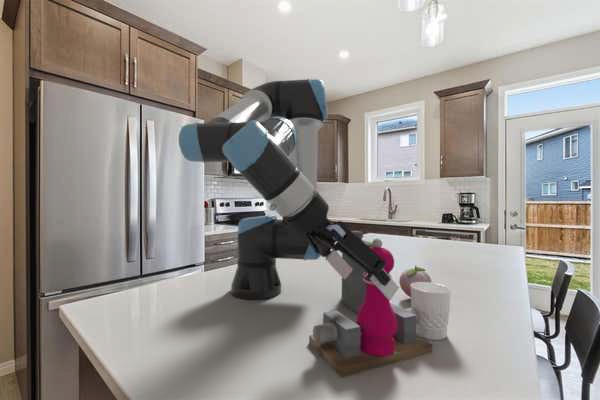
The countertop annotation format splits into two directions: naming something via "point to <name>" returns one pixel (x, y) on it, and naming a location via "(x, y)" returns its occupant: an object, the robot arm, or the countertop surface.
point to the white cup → (431, 309)
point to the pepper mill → (377, 312)
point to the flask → (354, 281)
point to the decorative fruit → (412, 278)
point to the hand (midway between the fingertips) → (368, 282)
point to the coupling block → (346, 342)
